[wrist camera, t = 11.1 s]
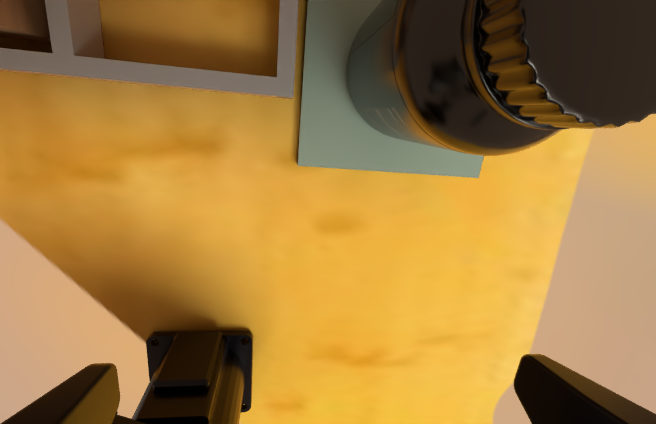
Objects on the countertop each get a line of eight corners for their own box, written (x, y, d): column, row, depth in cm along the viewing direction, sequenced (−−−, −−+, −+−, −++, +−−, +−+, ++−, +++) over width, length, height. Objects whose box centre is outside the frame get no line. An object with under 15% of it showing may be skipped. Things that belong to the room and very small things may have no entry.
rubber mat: (473, 175, 20) (478, 177, 20) (297, 163, 19) (297, 165, 18) (519, -30, 17) (527, -35, 16) (311, -67, 15) (312, -73, 15)
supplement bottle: (482, 103, 18) (805, 95, 7) (374, 158, 18) (518, 239, 7) (443, -28, 16) (828, -358, 5) (321, 36, 16) (407, -131, 5)
